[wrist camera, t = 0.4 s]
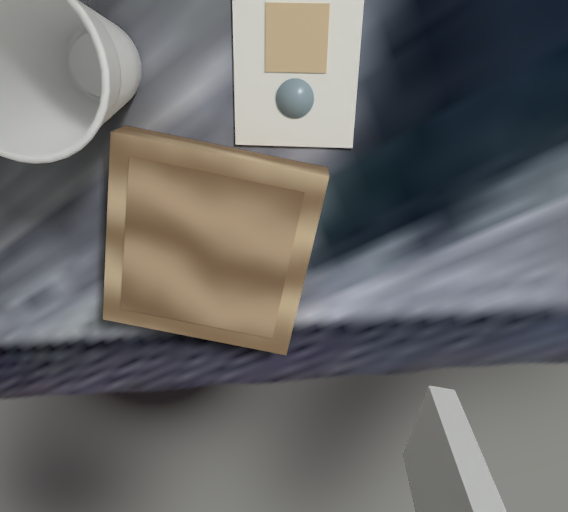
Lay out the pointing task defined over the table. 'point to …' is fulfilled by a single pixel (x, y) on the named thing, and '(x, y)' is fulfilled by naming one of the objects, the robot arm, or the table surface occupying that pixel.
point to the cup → (59, 77)
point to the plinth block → (208, 238)
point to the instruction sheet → (296, 71)
